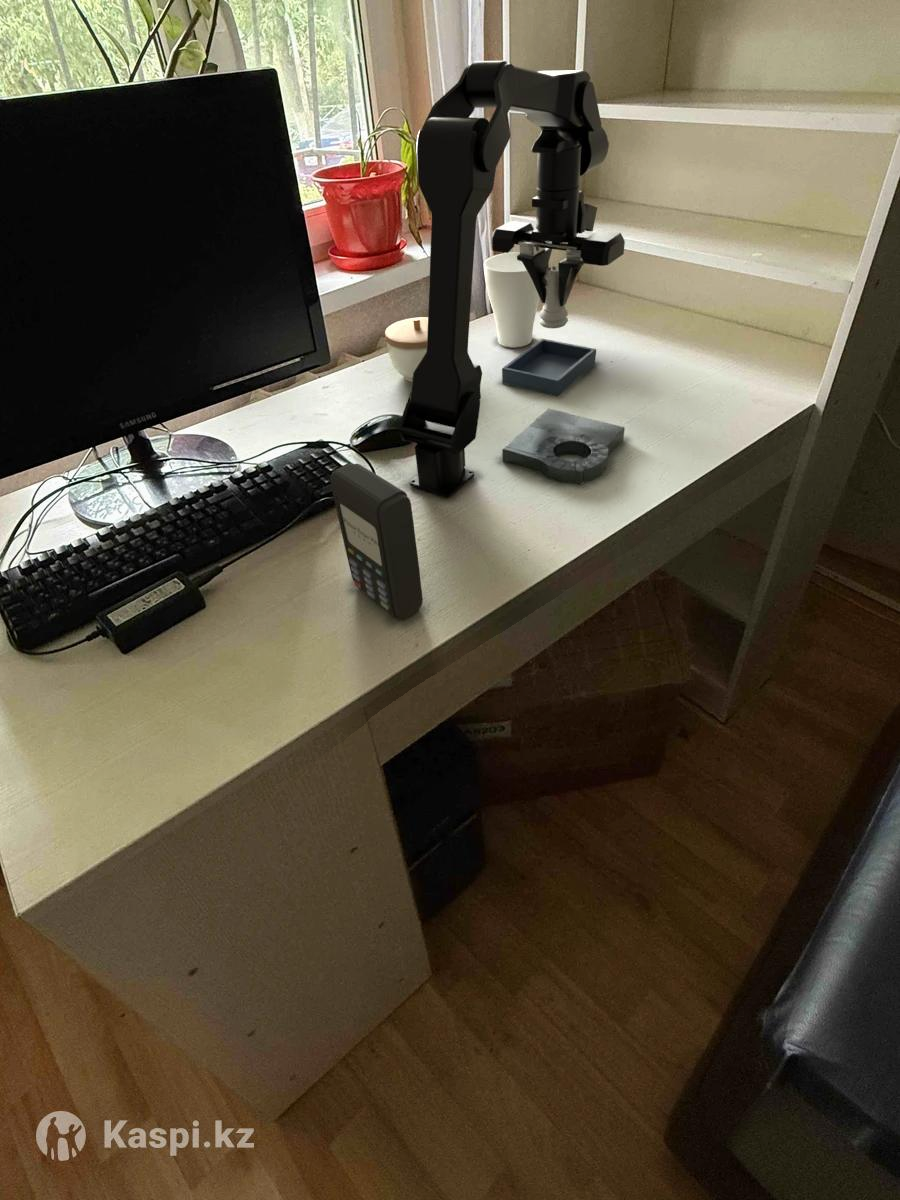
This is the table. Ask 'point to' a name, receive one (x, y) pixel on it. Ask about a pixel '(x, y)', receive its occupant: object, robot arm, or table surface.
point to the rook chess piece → (553, 302)
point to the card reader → (378, 538)
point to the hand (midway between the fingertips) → (554, 303)
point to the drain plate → (564, 446)
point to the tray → (549, 366)
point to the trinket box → (407, 344)
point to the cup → (511, 298)
